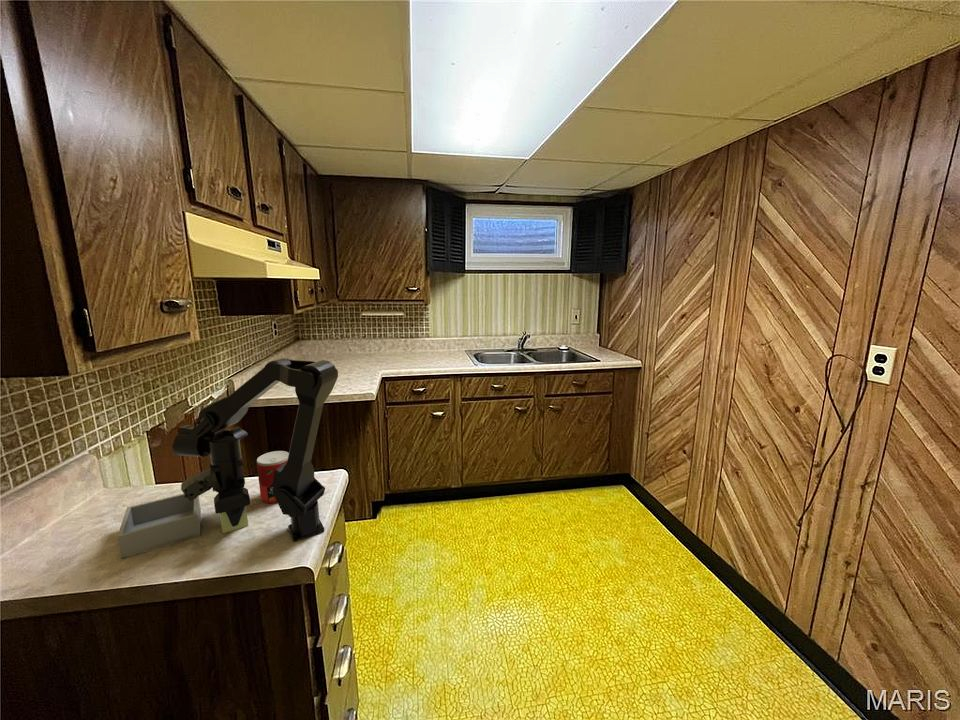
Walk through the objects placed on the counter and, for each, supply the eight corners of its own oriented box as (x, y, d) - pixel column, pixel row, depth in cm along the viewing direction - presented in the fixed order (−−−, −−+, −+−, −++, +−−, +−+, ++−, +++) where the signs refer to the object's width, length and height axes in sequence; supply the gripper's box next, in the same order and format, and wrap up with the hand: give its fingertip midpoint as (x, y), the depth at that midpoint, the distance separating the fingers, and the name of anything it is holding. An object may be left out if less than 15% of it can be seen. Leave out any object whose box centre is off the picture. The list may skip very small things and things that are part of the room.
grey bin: (200, 535, 85) (197, 514, 84) (121, 559, 78) (117, 536, 77) (200, 508, 95) (197, 490, 94) (130, 527, 88) (127, 507, 87)
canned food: (269, 507, 96) (265, 466, 94) (255, 497, 101) (250, 457, 99) (299, 494, 102) (295, 455, 100) (284, 485, 107) (280, 448, 105)
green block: (248, 525, 88) (245, 501, 87) (222, 533, 86) (219, 509, 85) (246, 515, 92) (243, 492, 91) (221, 522, 90) (218, 499, 89)
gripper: (182, 451, 89) (192, 512, 92) (178, 484, 74) (190, 556, 77) (239, 440, 95) (246, 498, 98) (246, 468, 80) (254, 535, 83)
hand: (234, 520), depth 89 cm, fingers closed on green block, 5 cm apart
